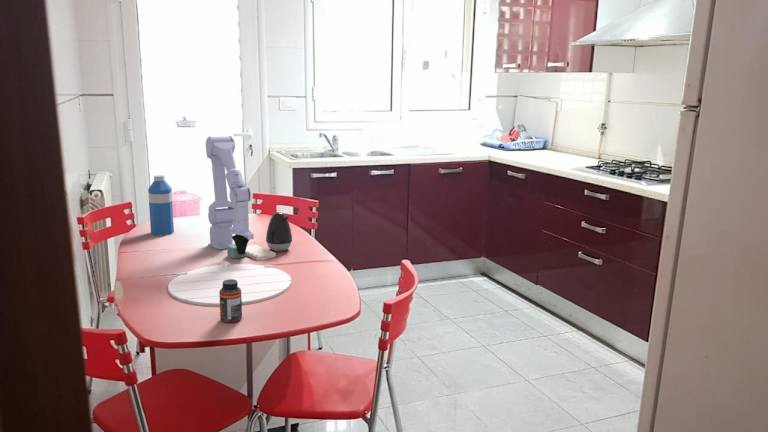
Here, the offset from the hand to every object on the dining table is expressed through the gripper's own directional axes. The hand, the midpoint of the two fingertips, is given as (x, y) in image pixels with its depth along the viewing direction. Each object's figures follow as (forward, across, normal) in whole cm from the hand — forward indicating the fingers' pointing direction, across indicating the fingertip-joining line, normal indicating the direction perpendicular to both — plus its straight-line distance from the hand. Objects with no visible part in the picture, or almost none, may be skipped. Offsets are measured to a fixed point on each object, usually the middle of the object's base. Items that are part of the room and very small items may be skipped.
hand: (241, 254), depth 225 cm
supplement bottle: (+2, +50, -32) cm, 59 cm away
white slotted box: (+2, -2, +8) cm, 8 cm away
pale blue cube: (+2, -4, 0) cm, 4 cm away
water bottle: (+2, -54, -7) cm, 55 cm away
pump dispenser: (+2, -2, +18) cm, 18 cm away
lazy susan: (+2, +22, -17) cm, 28 cm away
